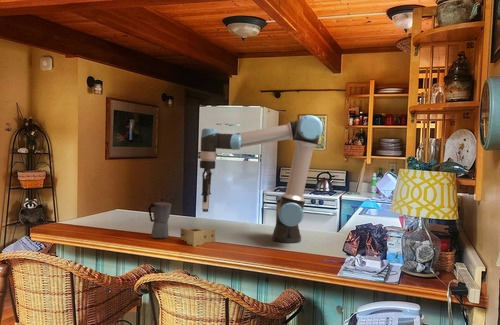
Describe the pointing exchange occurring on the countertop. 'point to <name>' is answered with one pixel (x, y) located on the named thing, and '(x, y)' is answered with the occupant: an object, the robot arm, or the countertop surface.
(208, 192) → the pin
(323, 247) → the countertop surface
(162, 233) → the moka pot
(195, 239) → the wooden box
